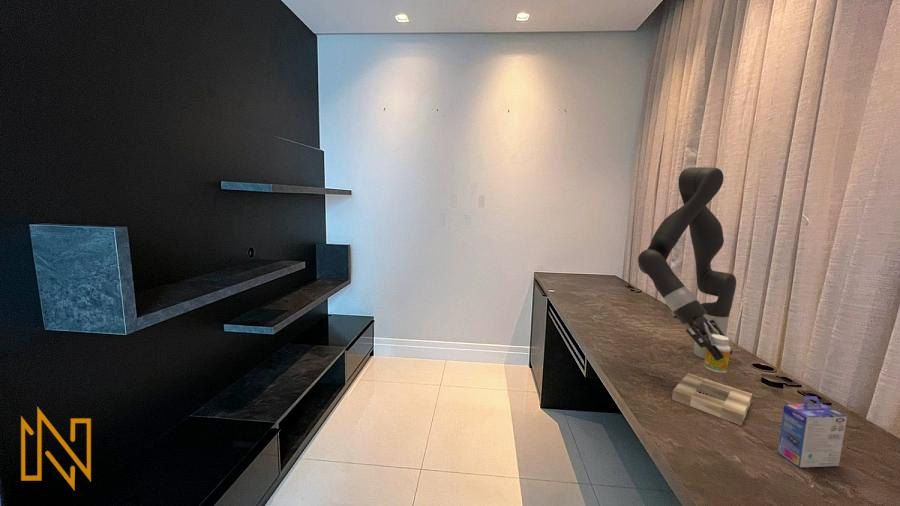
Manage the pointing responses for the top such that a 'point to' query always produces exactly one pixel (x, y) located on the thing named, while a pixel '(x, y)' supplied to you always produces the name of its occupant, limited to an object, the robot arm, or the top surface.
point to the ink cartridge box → (811, 434)
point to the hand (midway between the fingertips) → (725, 356)
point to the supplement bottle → (724, 349)
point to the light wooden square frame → (728, 409)
